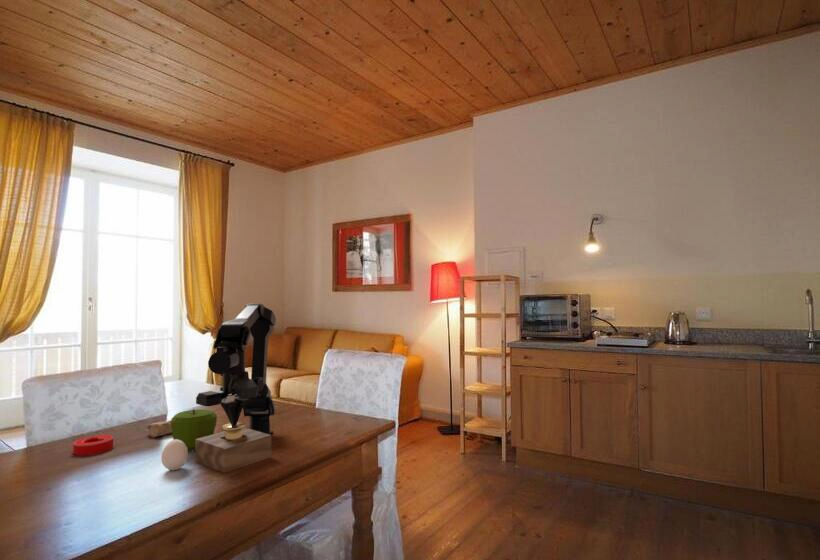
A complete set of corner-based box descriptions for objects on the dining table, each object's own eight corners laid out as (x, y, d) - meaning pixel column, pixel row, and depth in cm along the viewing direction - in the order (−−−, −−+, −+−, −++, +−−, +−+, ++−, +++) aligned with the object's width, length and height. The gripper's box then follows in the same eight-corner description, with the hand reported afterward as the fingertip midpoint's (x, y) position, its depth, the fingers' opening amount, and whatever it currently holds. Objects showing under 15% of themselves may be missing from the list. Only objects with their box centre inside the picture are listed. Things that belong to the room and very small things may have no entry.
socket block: (195, 461, 122) (195, 439, 122) (241, 447, 133) (241, 426, 133) (224, 473, 113) (224, 448, 113) (271, 456, 124) (271, 434, 125)
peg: (217, 450, 122) (217, 426, 123) (237, 444, 127) (237, 421, 128) (229, 454, 119) (230, 429, 119) (249, 448, 124) (249, 424, 124)
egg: (183, 463, 120) (183, 434, 121) (191, 469, 116) (191, 439, 116) (158, 469, 116) (158, 439, 116) (165, 476, 112) (165, 445, 112)
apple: (223, 446, 134) (223, 408, 134) (180, 457, 125) (180, 416, 125) (205, 438, 142) (206, 402, 143) (164, 447, 133) (164, 409, 134)
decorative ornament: (64, 456, 128) (64, 444, 128) (89, 445, 138) (90, 434, 138) (97, 456, 128) (97, 444, 128) (120, 444, 137) (120, 434, 137)
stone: (144, 434, 147) (144, 420, 147) (179, 428, 154) (179, 415, 154) (151, 440, 141) (151, 426, 141) (186, 433, 148) (187, 419, 148)
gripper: (218, 375, 112) (218, 439, 111) (280, 366, 127) (280, 422, 126) (195, 371, 118) (194, 432, 118) (256, 363, 133) (256, 416, 133)
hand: (233, 425), depth 123 cm, fingers closed, pressing on peg
